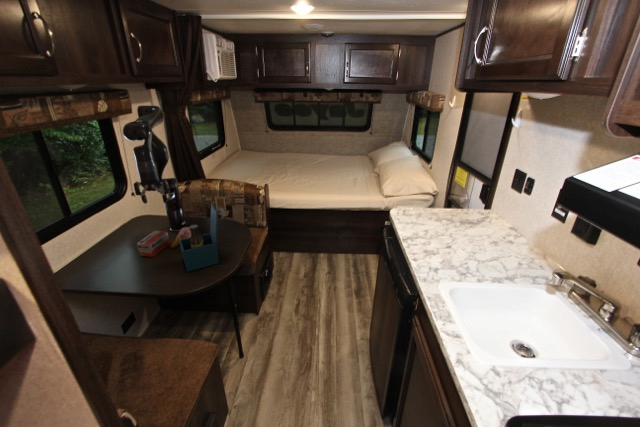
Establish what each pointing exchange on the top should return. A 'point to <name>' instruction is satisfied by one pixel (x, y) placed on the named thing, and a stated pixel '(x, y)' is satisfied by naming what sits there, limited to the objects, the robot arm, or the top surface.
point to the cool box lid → (215, 221)
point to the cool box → (199, 253)
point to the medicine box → (153, 243)
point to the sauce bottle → (195, 237)
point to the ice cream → (181, 236)
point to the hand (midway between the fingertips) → (155, 202)
